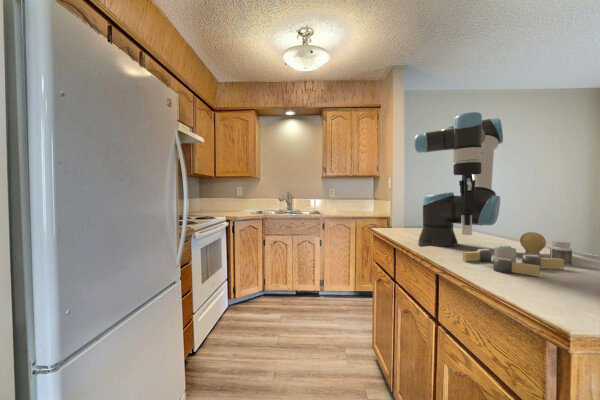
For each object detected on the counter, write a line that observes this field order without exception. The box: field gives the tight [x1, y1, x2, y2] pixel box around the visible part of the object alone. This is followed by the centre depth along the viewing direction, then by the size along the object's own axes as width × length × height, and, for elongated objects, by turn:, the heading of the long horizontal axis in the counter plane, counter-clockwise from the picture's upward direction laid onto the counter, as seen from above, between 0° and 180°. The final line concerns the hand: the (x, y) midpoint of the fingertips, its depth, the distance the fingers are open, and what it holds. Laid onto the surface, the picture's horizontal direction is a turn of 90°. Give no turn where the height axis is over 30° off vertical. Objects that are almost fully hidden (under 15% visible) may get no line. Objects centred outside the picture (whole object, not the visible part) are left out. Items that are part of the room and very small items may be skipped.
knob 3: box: [521, 254, 565, 270], centre depth 72 cm, size 10×4×4 cm, turn 75°
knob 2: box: [493, 256, 541, 277], centre depth 68 cm, size 10×4×4 cm, turn 46°
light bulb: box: [519, 231, 547, 258], centre depth 83 cm, size 6×6×10 cm
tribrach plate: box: [494, 244, 517, 262], centre depth 74 cm, size 18×18×7 cm
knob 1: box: [462, 248, 492, 263], centre depth 80 cm, size 10×4×4 cm, turn 101°
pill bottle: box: [549, 239, 573, 267], centre depth 76 cm, size 5×5×8 cm
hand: (466, 234), depth 81 cm, fingers closed
